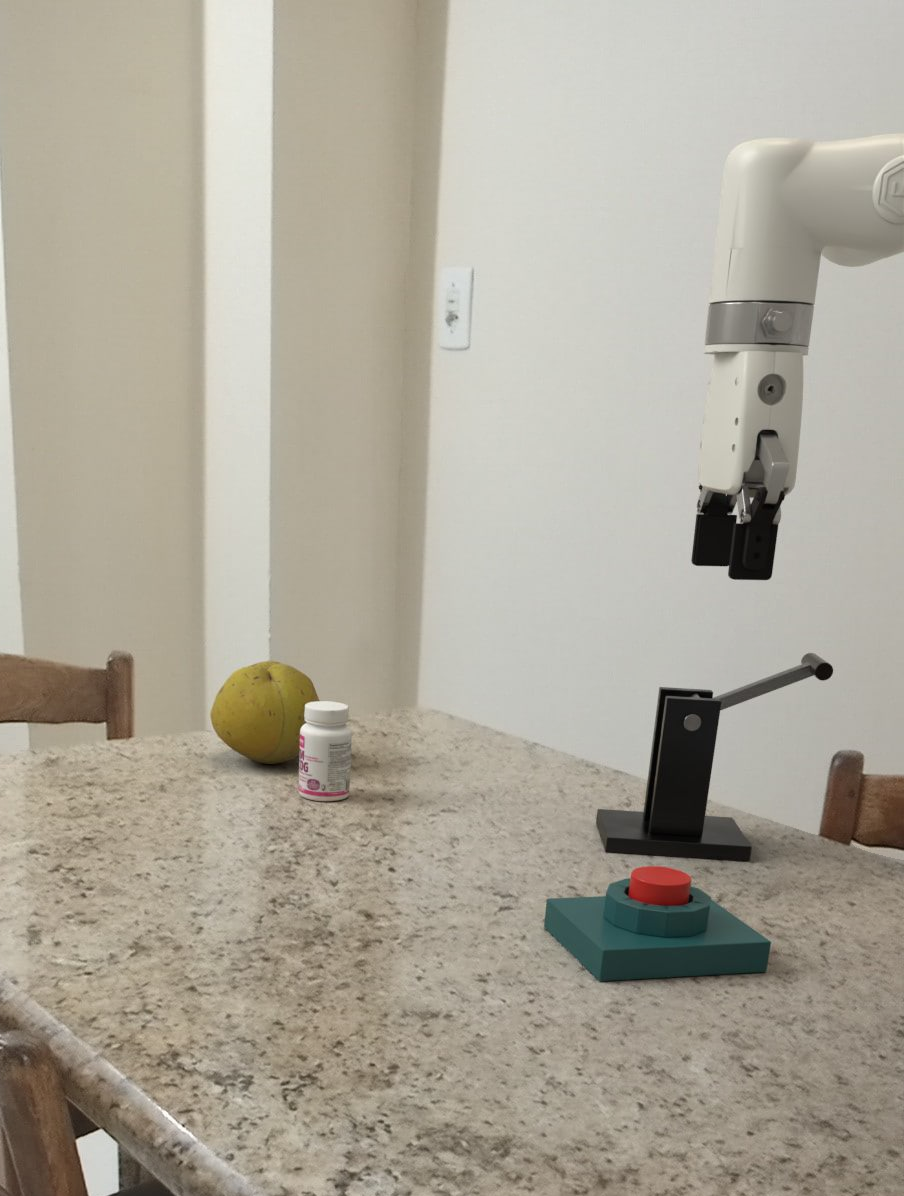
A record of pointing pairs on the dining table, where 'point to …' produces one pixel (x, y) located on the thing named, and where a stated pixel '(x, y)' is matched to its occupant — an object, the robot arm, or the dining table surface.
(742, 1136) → the dining table surface
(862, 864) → the dining table surface
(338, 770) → the pill bottle
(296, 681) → the fruit
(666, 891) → the stop button
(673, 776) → the switch bracket
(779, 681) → the switch lever
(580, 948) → the button block
